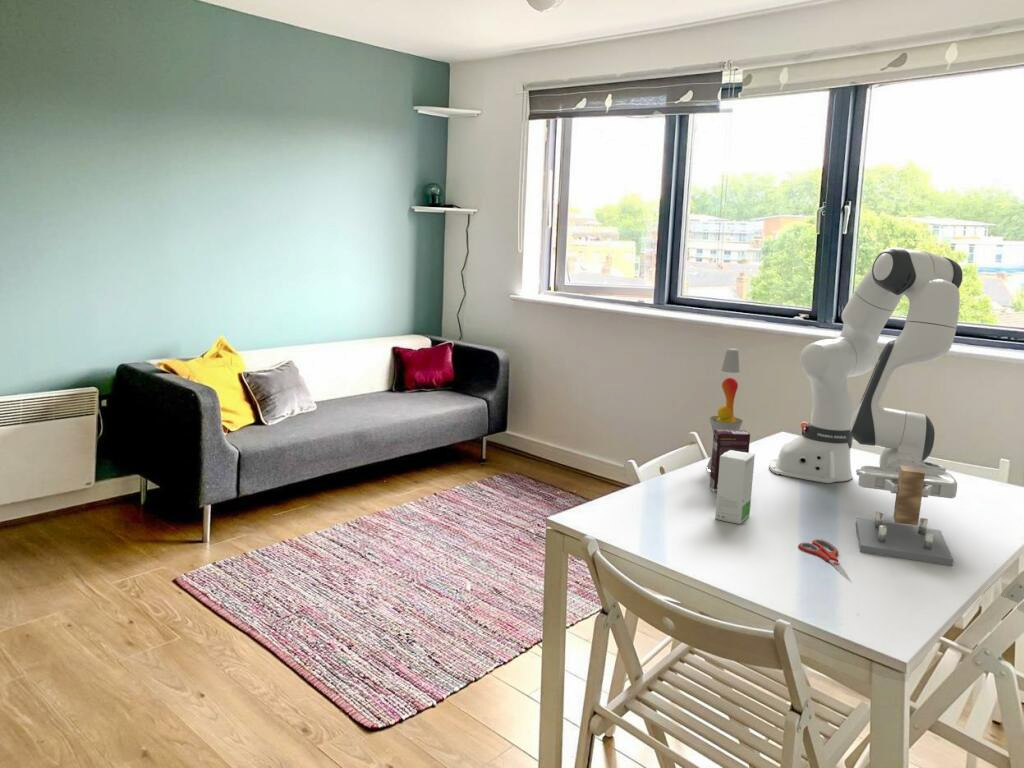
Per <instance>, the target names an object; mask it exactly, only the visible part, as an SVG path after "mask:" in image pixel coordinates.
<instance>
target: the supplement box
mask: <svg viewBox="0 0 1024 768" xmlns="http://www.w3.org/2000/svg"><path fill="white" fill-rule="evenodd" d="M750 440H751V434H750V433H749V432H748V431H747V430H745V429H739V430H716V429H714V434H713V439H712V451H711V455H712V461H711V473H710V472H709V473H710V476H709V487H710V489H711V488H712V489H713V490H714V491H717V488H718V476H719V463H720V456H721V455H723V454H724V453H725V452H728V451H729V450H733V451H739V452H746V453H750ZM712 489H711V490H712ZM713 490H712V491H713ZM714 491H713V492H714Z"/></svg>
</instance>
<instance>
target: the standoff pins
mask: <svg viewBox="0 0 1024 768" xmlns="http://www.w3.org/2000/svg"><path fill="white" fill-rule="evenodd" d="M883 520H884V512H881V511H875V519H874V521H875V524H874V527H875V528H878V529H879V532H878V539H877V541H878V542H881V543H885V540H886V533H887V526H885V525H882V522H884V521H883ZM928 523H929V519H928V518H926V517H919V522H918V527H919V530H918V534H920V535H925V539H924V546H923V548H924V549H927V550H931V549H932V542H933V536H934V533H932V532H926V530H927V528H928Z"/></svg>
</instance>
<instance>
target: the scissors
mask: <svg viewBox="0 0 1024 768" xmlns="http://www.w3.org/2000/svg"><path fill="white" fill-rule="evenodd" d="M810 547H811V548H810ZM797 548H798V549H799V550H800V551H801V552H803V553H808V554H810V555H814V556H816V555H817V557H818V558H821V559H822V560H824V561H825V562H826V563H829V564H830V565H831V566H832V567H833V568H834V569H835V570H836V571H837V572H838V573H839V574H840V575H841V576H842V577H843V578H844V579H846V580H847V581H848V582H850V583H851V584H852V583H853V582H852V580H851V579H850V577H849V575H848V574H847V572H846V571H845V569H844V568H843V567H842V566H841V563H839V559H838V558H837V556H838V555H839V550H838V548H836V547H835V546H834V545H833V544H831V542H828V540H827V541H826V540H823V539H818V538H817V539H814V540H812V541H811V543H810V542H800V543H799V544H798V546H797ZM812 548H813V549H812ZM827 548H828V549H830V550H831V551H830V550H828V549H827ZM814 549H815V550H814Z"/></svg>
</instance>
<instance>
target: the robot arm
mask: <svg viewBox="0 0 1024 768" xmlns="http://www.w3.org/2000/svg"><path fill="white" fill-rule="evenodd" d="M963 275H964V274H963V270H962V267H961V265H960V264H958V263H957V262H956V261H954V260H952V259H951V258H949V257H947V256H946V257H945V256H941V255H937V254H934V253H932V252H927V251H920V250H915V249H914V250H912V249H905V248H904V247H890V248H889V247H888V248H885V249H883V250H882V251H881V252H880V253H879V254H877V256H876V258H875V260H874V261H873V264H872V266H871V268H870V269H869V270H868V271H867V272H866V274H865V275H864V276H863V277H862V279H861V280H860V282H859V283H858V285H857V287H856V288H855V290H854V291H853V293H852V295H851V297H850V298H849V300H848V301H847V303H846V305H845V307H844V308H843V310H842V312H841V315H840V316H841V321H842V323H843V325H842V330H841V332H840V334H839V335H838V336H837V337H836V338H827V339H820V340H817V341H814V342H812V343H809V344H807V345H806V346H805V347H804V348H803V349H802V350H801V353H800V355H799V365H800V367H801V368H800V369H801V370H802V372H803V373H804V374H805V375H806V376H807V378H808V379H809V383H810V387H811V392H812V393H811V394H812V403H811V405H812V406H811V414H810V415H811V416H810V422H807V421H802V422H801V423H800V428H801V435H800V436H798V437H796V438H794V439H793V440H791V441H788V442H787V443H784V445H783V446H782V447H781V449H780V450H779V453H778V457H777V458H774V459H772V460H770V462H769V466H768V469H769V468H770V469H769V471H770V470H771V471H772V473H773V472H774V473H773V474H775V473H776V474H775V475H779V474H781V476H784V477H785V476H786V477H790V478H796V479H801V480H807V481H811V482H812V481H813V482H816V483H817V482H819V483H823V484H832V483H836V482H846V481H847V482H848V481H850V480H851V479H853V473H852V467H851V449H852V446H853V442H854V440H855V441H856V442H857V443H858V444H860V445H862V446H873V447H875V446H876V447H880V448H881V447H882V448H883V449H882V451H881V452H880V456H879V462H878V464H879V466H875V465H874V466H873V465H863V466H861V467H860V469H859V468H857V469H856V470H855V472H856V475H857V476H858V482H857V483H858V486H859V487H861V488H866V489H872V490H881V491H889V492H890V493H891V494H898V492H899V491H898V490H899V485H898V477H899V469H900V465H903V466H912V467H920V468H923V470H924V472H925V477H924V485H923V492H922V498H928V497H938V498H945V499H946V498H947V499H955V498H956V497H957V493H958V492H957V491H958V482H957V480H956V478H955V477H954V476H953V475H952V474H950V473H949V472H947V468H946V466H943V465H941V464H936V463H931V462H928V461H925V460H927V459H928V458H929V456H930V455H931V453H932V450H933V447H934V443H935V442H934V441H935V434H936V433H935V428H934V427H935V426H934V424H933V422H932V420H931V419H930V418H929V416H928V415H927V414H924V413H918V412H914V411H910V410H909V411H908V410H902V409H895V408H890V407H884V406H883V405H881V401H882V400H881V399H882V397H883V395H884V393H885V390H886V388H887V387H888V383H889V381H890V379H891V376H892V375H893V374H894V372H895V371H897V370H898V369H901V368H904V367H906V366H907V367H908V366H911V365H916V364H917V365H918V364H923V363H928V362H932V361H936V360H938V359H940V358H942V357H943V356H945V355H946V354H947V353H948V352H949V351H950V349H951V348H952V345H953V343H954V340H955V336H956V332H957V328H958V327H957V326H958V321H959V317H960V316H959V314H960V301H961V299H960V295H961V294H960V289H959V288H960V287H961V285H962V283H963ZM904 296H905V297H906V298H907V299H908V302H909V304H908V305H909V306H908V311H907V315H906V319H905V323H904V327H903V329H902V331H901V332H900V334H899V335H898V336H897V337H896V338H895V339H893V340H891V341H888V342H887V343H886V345H884V347H883V349H882V351H881V353H880V356H879V353H878V350H877V345H878V341H879V338H880V335H881V333H882V331H883V329H884V327H885V326H886V324H887V322H888V321H889V319H890V318H891V316H892V314H893V313H894V311H895V310H896V308H897V306H898V304H899V303H900V302H901V300H902V298H903V297H904ZM871 370H873V371H872V374H871V375H870V379H869V381H868V383H867V385H866V388H865V389H864V392H863V395H862V398H861V399H860V402H859V404H858V405H857V408H855V407H856V400H855V399H854V398H853V396H852V395H851V394H850V393H849V388H848V383H847V382H848V378H853V377H859V376H862V375H864V374H866V373H868V372H870V371H871ZM771 471H770V472H771Z"/></svg>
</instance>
